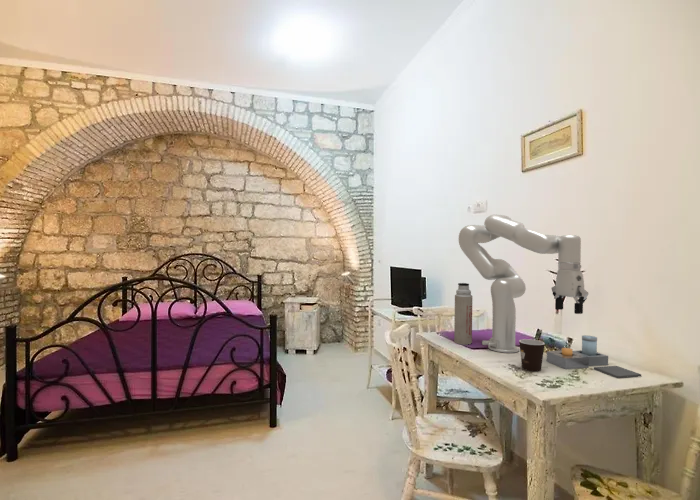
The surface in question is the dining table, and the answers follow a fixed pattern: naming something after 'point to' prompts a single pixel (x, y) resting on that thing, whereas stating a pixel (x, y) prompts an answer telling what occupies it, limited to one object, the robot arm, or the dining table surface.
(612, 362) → the dining table surface
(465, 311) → the thermos bottle
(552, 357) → the block
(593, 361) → the gray square tray
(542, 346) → the coffee mug
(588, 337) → the cylinder
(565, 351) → the plunger button
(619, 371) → the rubber mat
